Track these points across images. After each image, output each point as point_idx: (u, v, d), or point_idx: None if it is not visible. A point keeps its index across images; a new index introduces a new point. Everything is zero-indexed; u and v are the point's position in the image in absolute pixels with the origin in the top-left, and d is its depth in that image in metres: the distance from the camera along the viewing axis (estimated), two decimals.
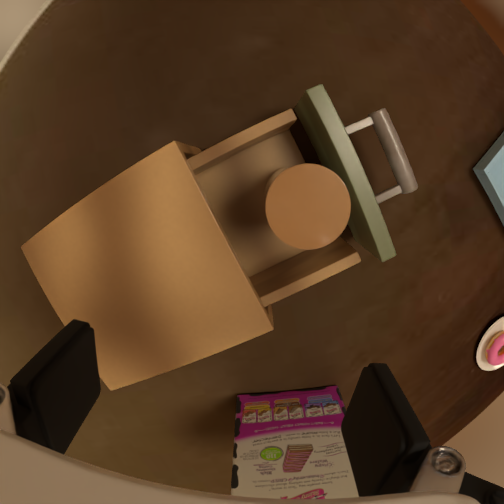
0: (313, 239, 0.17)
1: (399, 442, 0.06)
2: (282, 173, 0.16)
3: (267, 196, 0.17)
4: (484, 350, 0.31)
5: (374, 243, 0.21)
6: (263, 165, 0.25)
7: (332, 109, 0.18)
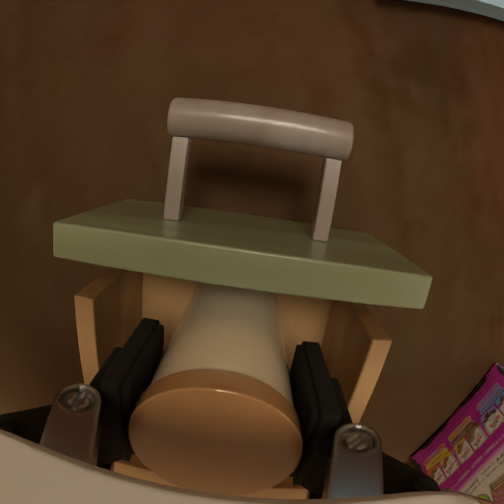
0: (273, 470, 0.07)
1: (310, 414, 0.07)
2: (133, 446, 0.07)
3: (160, 476, 0.08)
4: None
5: None
6: (174, 319, 0.16)
7: (98, 234, 0.09)
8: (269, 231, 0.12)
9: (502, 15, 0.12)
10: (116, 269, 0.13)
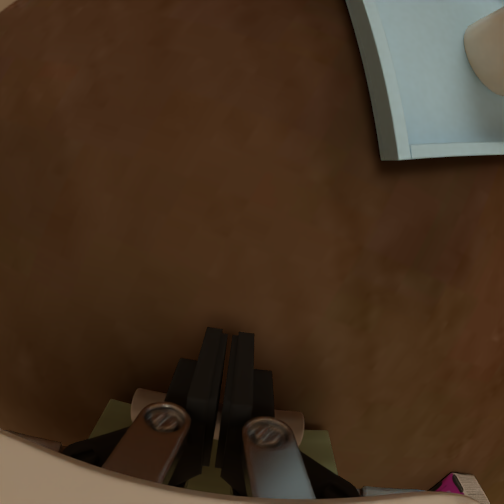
0: None
1: (223, 402, 0.07)
2: None
3: None
4: None
5: None
6: None
7: None
8: None
9: None
10: None
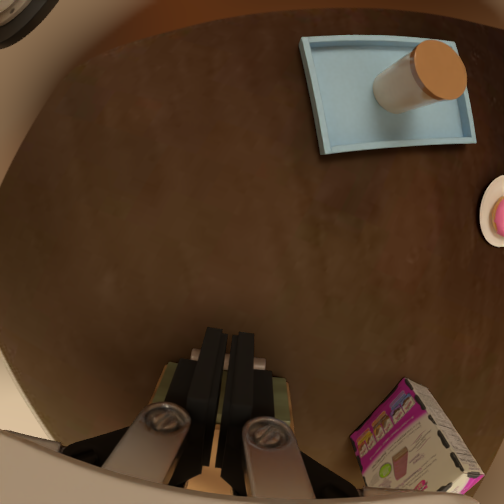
0: (460, 83, 0.17)
1: (223, 402, 0.07)
2: (415, 64, 0.17)
3: (423, 83, 0.17)
4: None
5: None
6: None
7: None
8: None
9: (420, 145, 0.26)
10: None
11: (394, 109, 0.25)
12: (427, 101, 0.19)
